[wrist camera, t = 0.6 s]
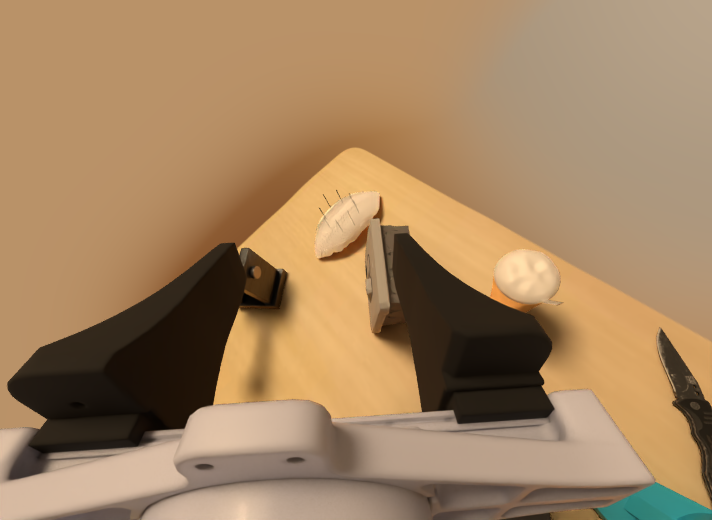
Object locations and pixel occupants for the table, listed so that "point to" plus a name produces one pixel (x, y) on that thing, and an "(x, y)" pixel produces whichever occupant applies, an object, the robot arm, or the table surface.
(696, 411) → the folding knife
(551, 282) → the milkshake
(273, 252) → the table surface
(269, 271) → the bracket
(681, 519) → the bracket
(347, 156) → the table surface
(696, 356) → the table surface
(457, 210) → the table surface
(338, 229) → the pincushion
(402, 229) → the electrical switch
